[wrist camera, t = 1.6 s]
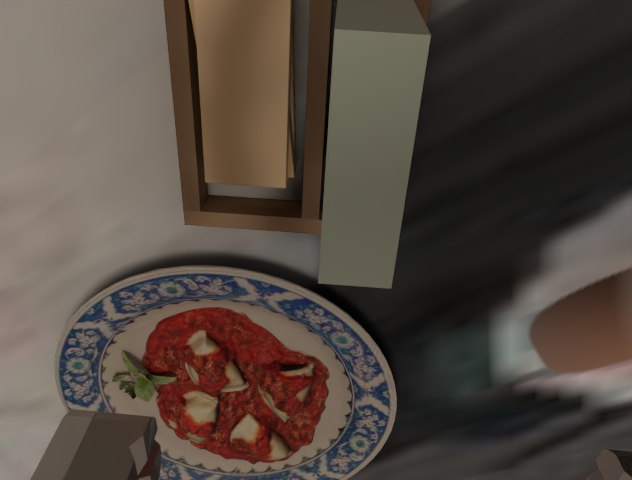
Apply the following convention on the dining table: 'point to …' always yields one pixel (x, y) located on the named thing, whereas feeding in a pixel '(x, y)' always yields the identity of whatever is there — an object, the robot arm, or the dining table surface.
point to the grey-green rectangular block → (370, 137)
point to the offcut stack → (246, 90)
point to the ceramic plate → (231, 374)
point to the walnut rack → (190, 142)
